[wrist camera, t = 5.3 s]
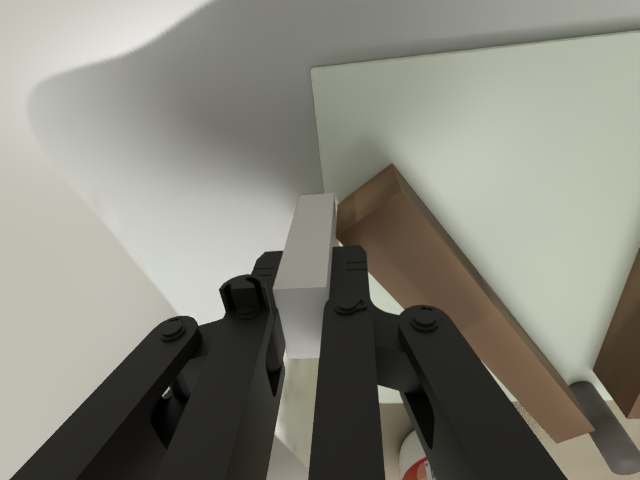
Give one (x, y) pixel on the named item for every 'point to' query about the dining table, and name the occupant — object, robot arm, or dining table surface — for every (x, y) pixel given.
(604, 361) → the tongs fixed
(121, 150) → the dining table surface
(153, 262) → the dining table surface
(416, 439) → the fruit juice
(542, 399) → the arm
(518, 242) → the board
